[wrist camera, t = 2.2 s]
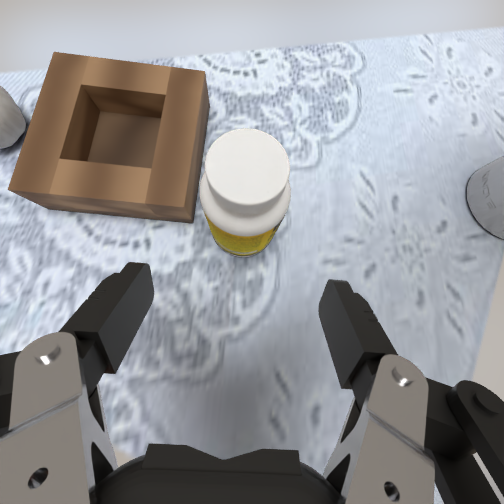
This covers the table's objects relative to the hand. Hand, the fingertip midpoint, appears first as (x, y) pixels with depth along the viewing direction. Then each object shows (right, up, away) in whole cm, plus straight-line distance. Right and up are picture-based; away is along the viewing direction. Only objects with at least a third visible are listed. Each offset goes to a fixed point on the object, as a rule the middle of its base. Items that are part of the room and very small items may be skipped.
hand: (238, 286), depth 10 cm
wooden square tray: (-12, +12, +14) cm, 21 cm away
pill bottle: (0, +4, +13) cm, 13 cm away
